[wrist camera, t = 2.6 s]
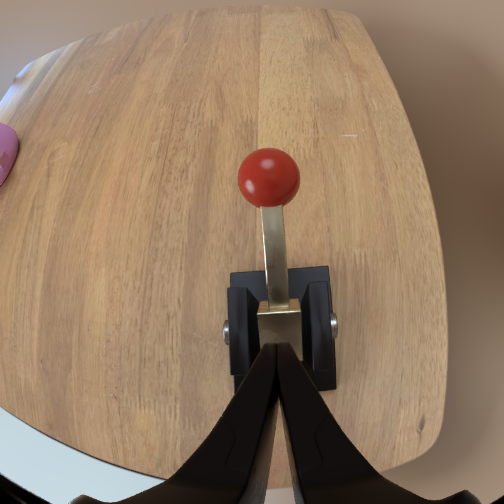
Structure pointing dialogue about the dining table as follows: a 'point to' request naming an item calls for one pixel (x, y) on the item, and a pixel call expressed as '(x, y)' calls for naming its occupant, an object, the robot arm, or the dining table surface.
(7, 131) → the teapot
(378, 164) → the dining table surface
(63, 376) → the dining table surface
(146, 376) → the dining table surface
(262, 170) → the lever
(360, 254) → the dining table surface
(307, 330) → the switch bracket
